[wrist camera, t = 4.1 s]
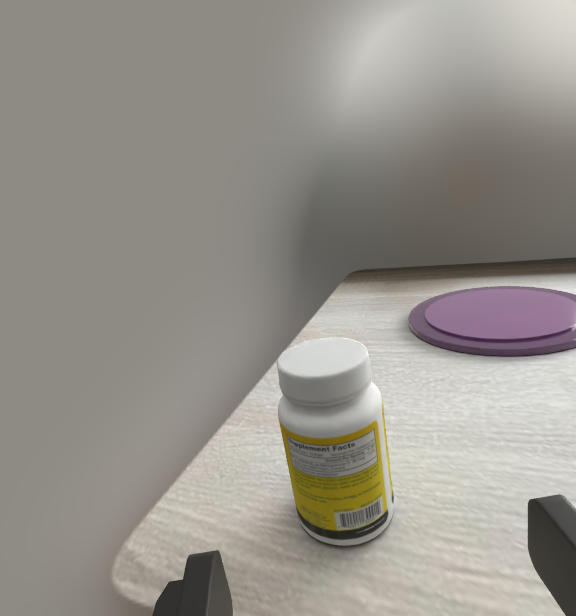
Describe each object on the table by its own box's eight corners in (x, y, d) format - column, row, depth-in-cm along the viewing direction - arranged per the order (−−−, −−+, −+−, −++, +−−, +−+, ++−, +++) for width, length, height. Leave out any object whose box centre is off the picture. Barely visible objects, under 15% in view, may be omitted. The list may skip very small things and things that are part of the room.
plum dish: (423, 364, 35) (422, 355, 35) (400, 301, 50) (399, 294, 50) (651, 344, 33) (652, 334, 32) (555, 284, 48) (555, 277, 47)
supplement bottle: (325, 469, 25) (303, 329, 23) (408, 490, 23) (393, 336, 20) (279, 530, 22) (246, 372, 19) (372, 564, 19) (349, 387, 16)
